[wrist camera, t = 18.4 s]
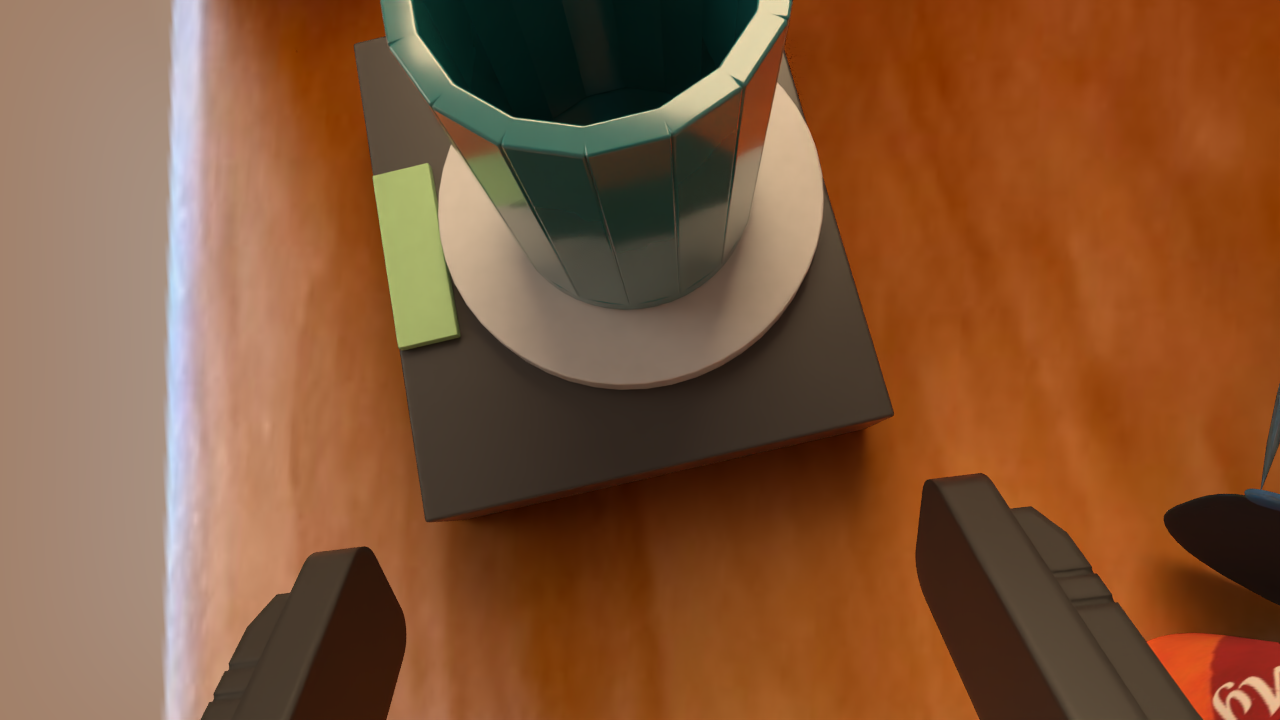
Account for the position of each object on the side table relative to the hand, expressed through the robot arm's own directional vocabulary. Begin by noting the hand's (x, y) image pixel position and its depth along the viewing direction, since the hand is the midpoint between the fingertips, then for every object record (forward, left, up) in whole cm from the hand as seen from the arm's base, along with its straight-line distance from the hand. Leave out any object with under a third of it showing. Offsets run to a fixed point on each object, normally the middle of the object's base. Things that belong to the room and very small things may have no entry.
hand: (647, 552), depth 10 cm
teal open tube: (+1, +8, -6) cm, 11 cm away
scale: (0, +9, -10) cm, 13 cm away
